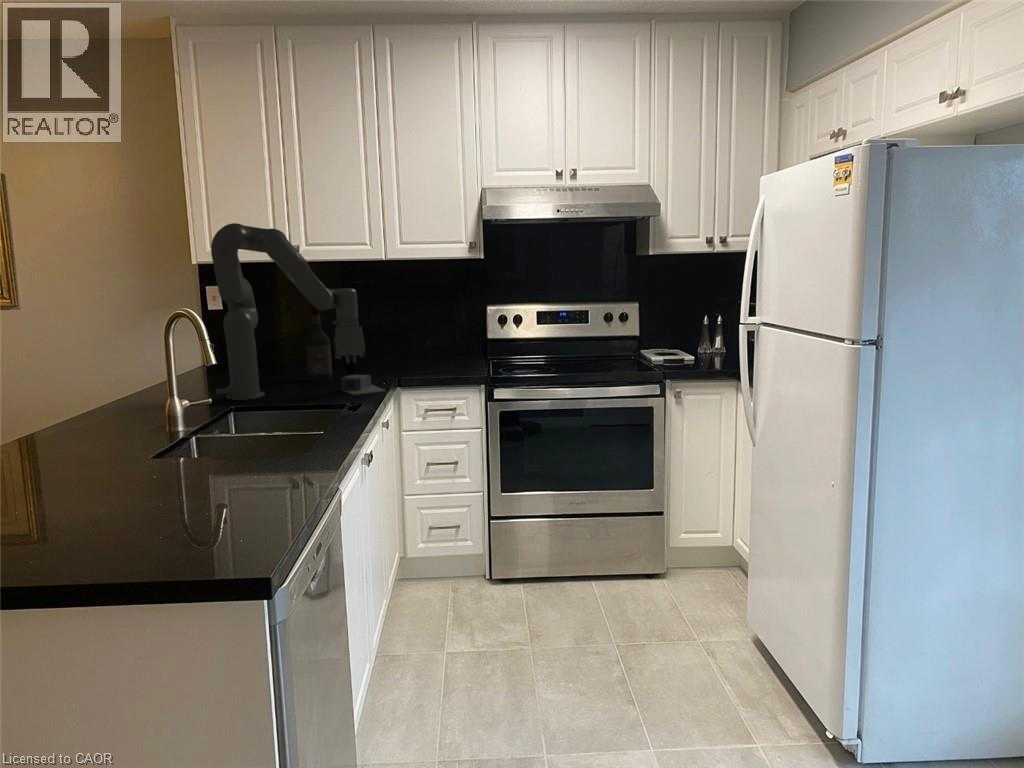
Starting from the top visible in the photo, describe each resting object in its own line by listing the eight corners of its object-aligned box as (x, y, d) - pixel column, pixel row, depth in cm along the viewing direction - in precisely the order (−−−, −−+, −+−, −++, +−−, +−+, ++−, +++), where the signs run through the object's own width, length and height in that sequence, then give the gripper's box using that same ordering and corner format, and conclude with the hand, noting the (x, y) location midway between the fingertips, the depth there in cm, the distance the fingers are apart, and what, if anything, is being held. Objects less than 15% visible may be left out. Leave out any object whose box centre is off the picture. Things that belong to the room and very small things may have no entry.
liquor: (333, 380, 279) (328, 305, 274) (309, 382, 275) (304, 306, 270) (330, 377, 287) (325, 304, 282) (307, 379, 284) (302, 305, 279)
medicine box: (360, 390, 252) (371, 386, 260) (360, 378, 251) (371, 374, 259) (341, 389, 254) (352, 385, 262) (340, 377, 253) (352, 374, 261)
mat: (353, 395, 245) (352, 394, 245) (340, 389, 256) (340, 388, 256) (386, 391, 251) (386, 390, 251) (372, 386, 263) (372, 385, 263)
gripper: (330, 325, 240) (333, 377, 243) (371, 322, 248) (374, 373, 251) (324, 323, 247) (327, 374, 250) (364, 321, 254) (367, 370, 257)
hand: (351, 373), depth 250 cm, fingers closed
